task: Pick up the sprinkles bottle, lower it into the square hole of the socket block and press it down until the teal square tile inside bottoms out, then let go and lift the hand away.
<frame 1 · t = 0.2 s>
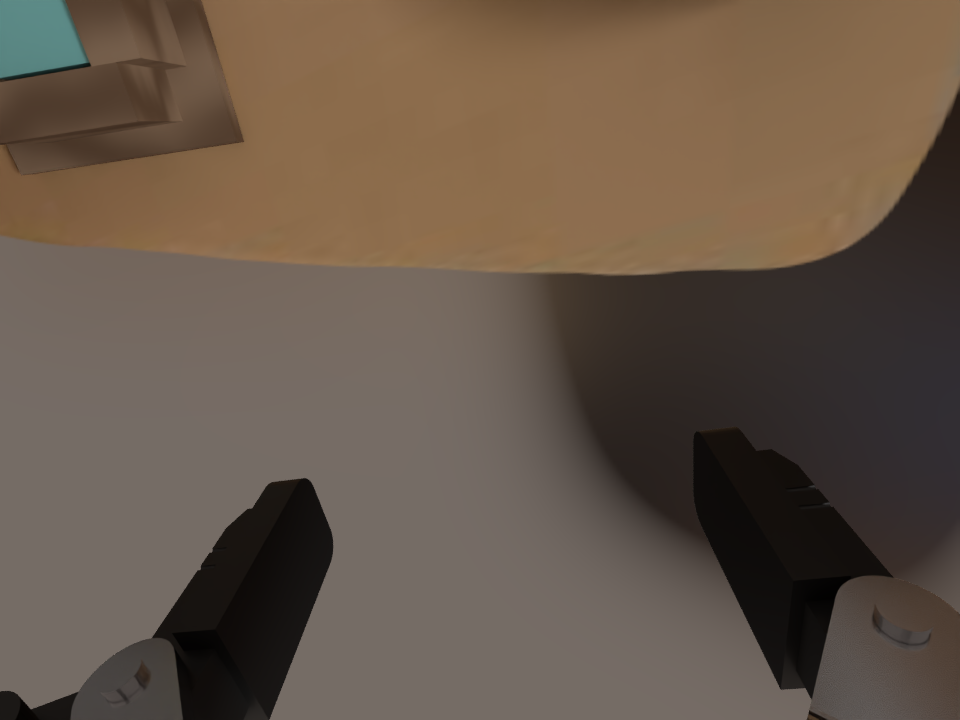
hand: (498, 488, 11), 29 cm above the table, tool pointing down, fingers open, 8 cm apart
teal square tile: (23, 10, 28), point 5 cm above the table, slide at 0.0 cm
socket block: (84, 24, 32), on the table
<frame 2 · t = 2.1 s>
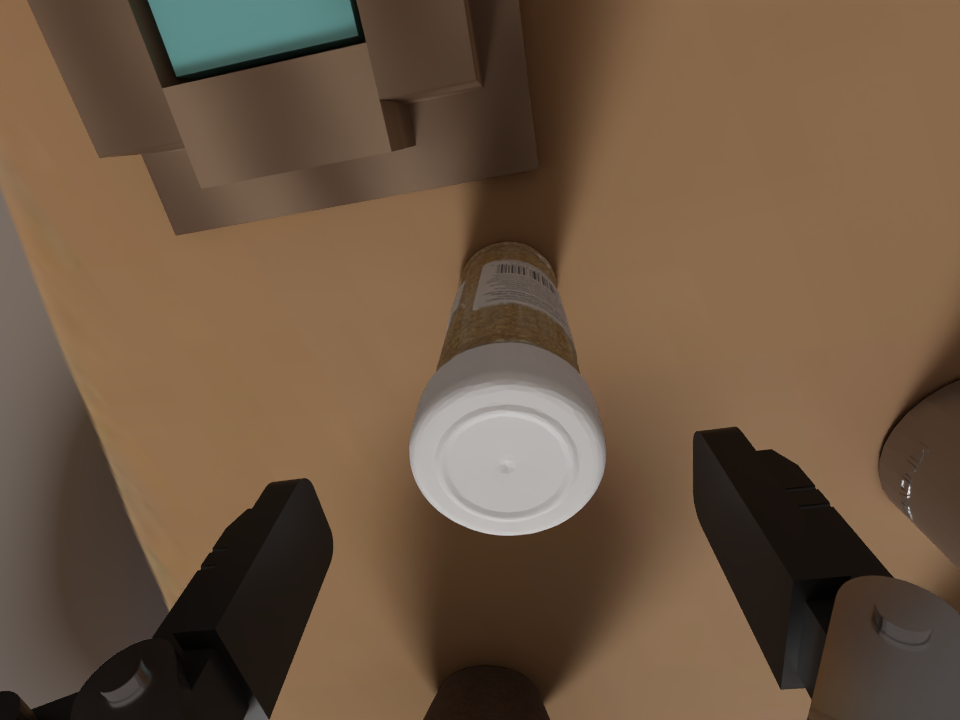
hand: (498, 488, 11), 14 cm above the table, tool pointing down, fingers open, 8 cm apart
plant pot: (489, 693, 37), on the table
sprinkles bottle: (508, 287, 24), on the table
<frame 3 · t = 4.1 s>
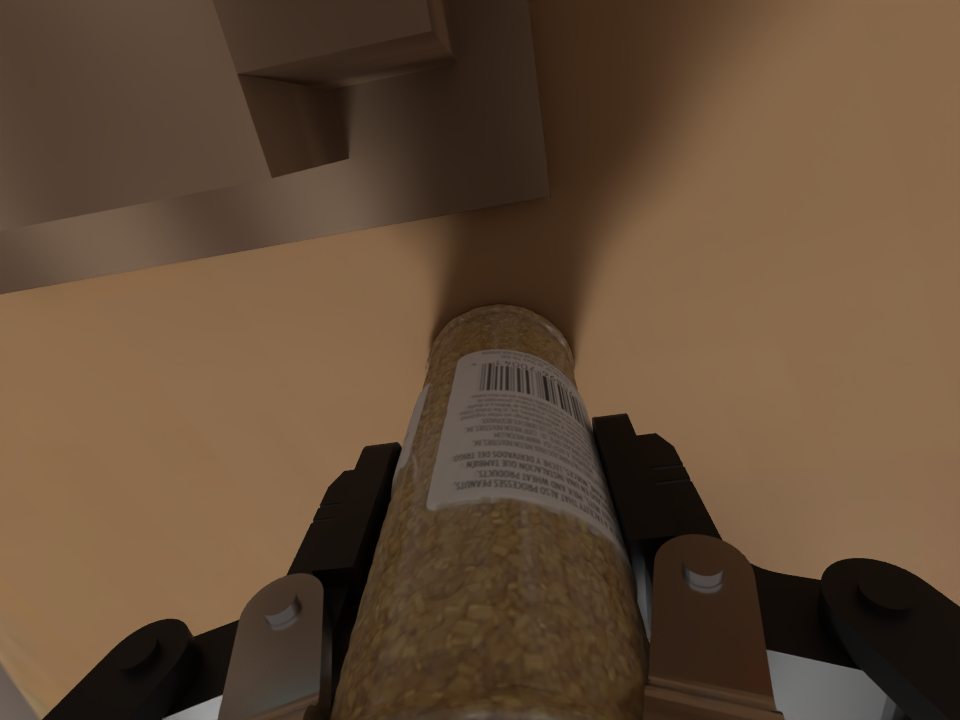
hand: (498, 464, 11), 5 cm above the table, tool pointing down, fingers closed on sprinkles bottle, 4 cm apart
sprinkles bottle: (502, 366, 16), on the table, touching gripper
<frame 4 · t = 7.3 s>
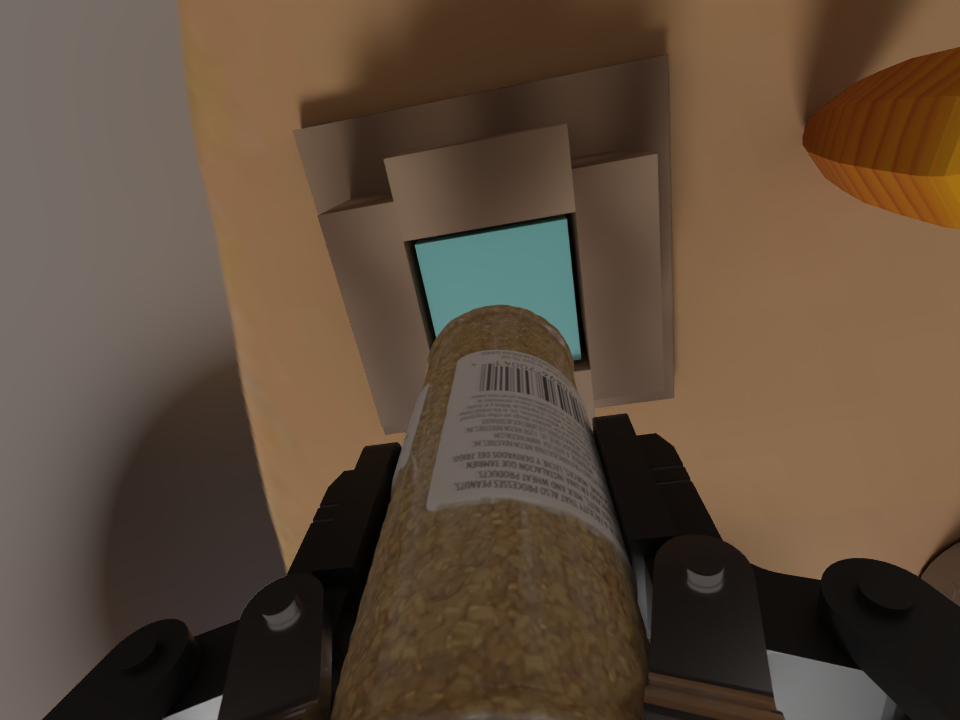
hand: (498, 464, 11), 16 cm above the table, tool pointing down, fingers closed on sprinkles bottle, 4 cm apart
teal square tile: (501, 300, 21), point 5 cm above the table, slide at 0.0 cm
socket block: (502, 271, 25), on the table
carrot: (809, 131, 22), on the table
sprinkles bottle: (501, 366, 16), point 11 cm above the table, touching gripper
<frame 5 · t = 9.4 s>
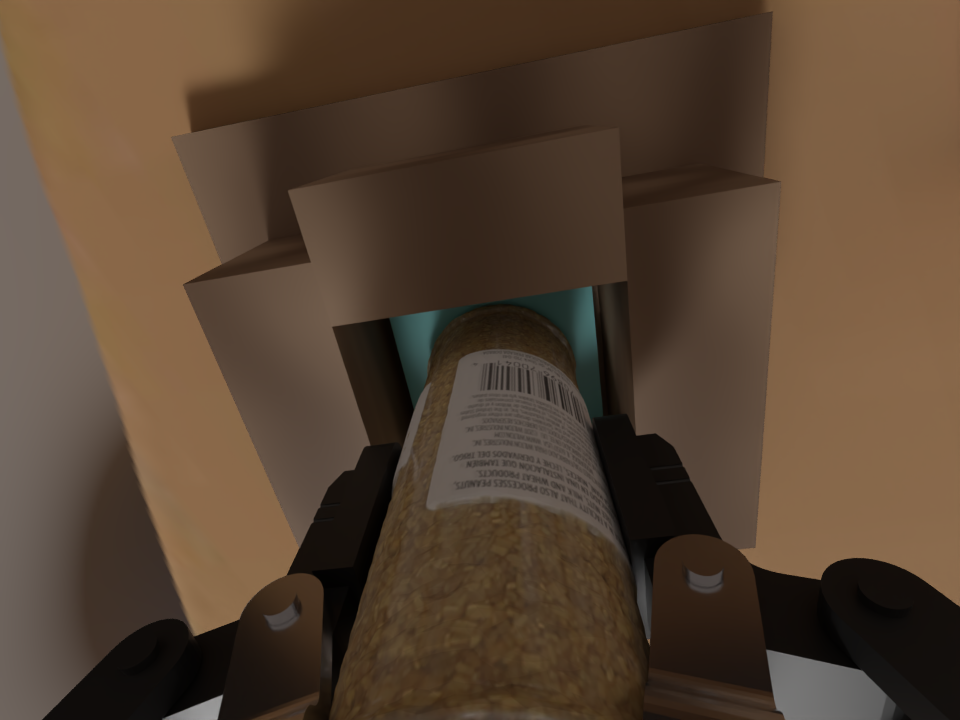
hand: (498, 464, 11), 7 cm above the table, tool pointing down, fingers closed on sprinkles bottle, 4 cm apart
teal square tile: (499, 359, 16), point 1 cm above the table, slide at -3.0 cm, touching socket block, sprinkles bottle
socket block: (500, 341, 17), on the table
sprinkles bottle: (503, 366, 16), point 2 cm above the table, touching gripper, teal square tile
when the fingers open (7 cm above the table, at t = 10.7 s): sprinkles bottle stays where it is, resting on teal square tile.
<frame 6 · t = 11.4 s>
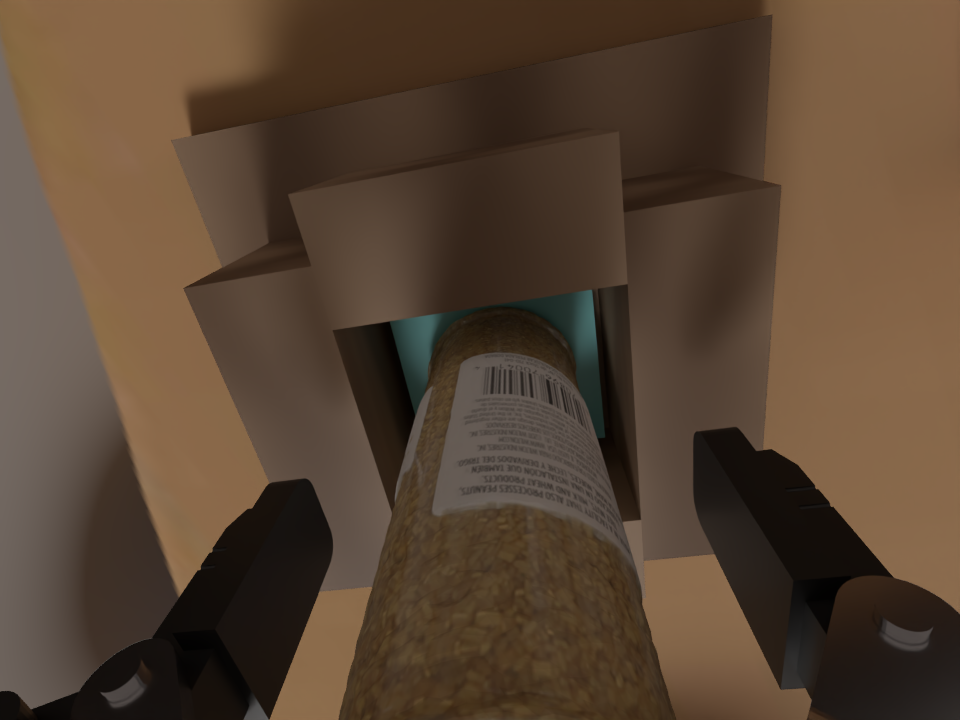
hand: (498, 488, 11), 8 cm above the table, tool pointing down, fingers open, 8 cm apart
teal square tile: (500, 362, 16), point 1 cm above the table, slide at -3.0 cm, touching socket block, sprinkles bottle
socket block: (500, 343, 17), on the table
sprinkles bottle: (503, 368, 16), point 2 cm above the table, touching teal square tile
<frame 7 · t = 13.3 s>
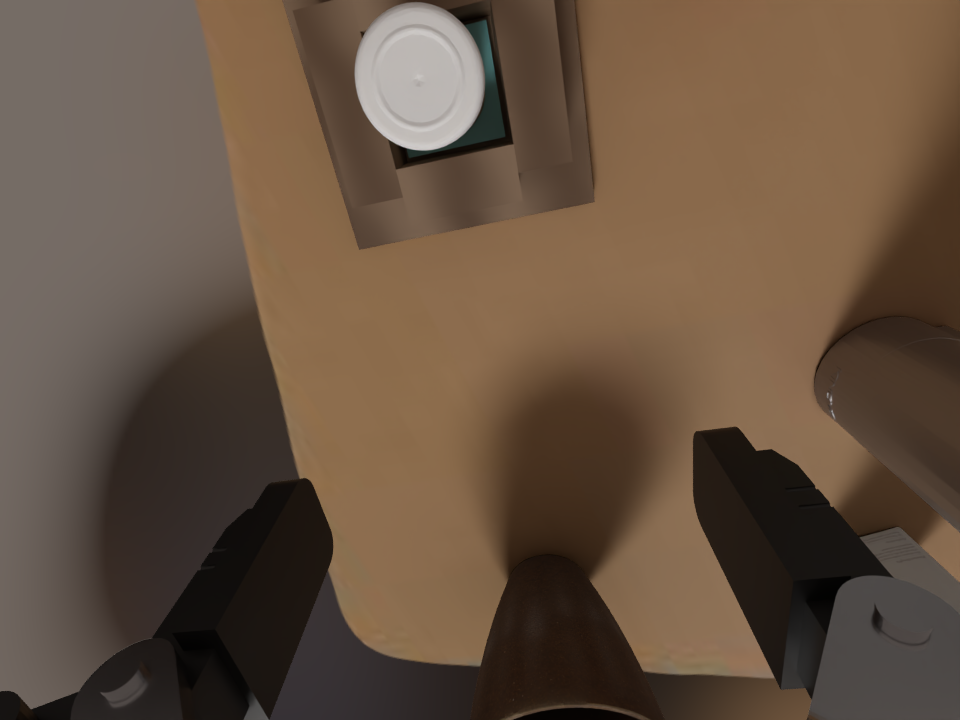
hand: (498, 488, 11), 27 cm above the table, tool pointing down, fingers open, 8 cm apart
skincare box: (856, 554, 47), on the table
teal square tile: (446, 93, 30), point 1 cm above the table, slide at -3.0 cm, touching socket block
socket block: (447, 93, 31), on the table
plant pot: (547, 578, 50), on the table
sprinkles bottle: (447, 94, 30), point 2 cm above the table
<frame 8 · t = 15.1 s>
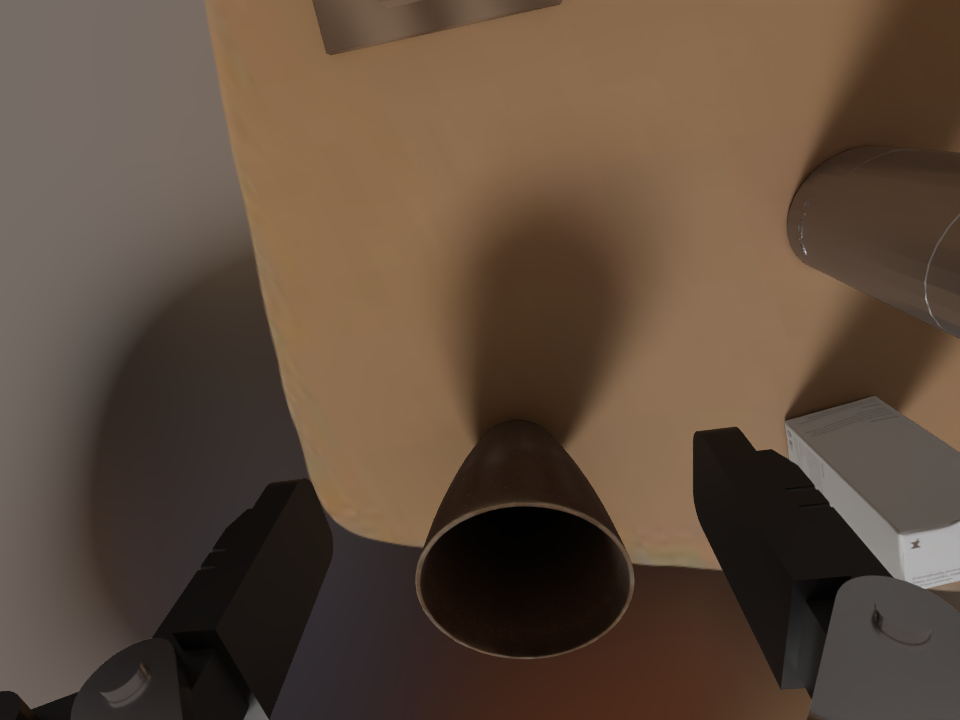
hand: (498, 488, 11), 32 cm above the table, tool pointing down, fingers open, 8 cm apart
skincare box: (831, 428, 47), on the table
plant pot: (517, 449, 49), on the table
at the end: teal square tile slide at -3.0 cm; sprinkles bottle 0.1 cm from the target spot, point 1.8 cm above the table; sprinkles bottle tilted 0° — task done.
